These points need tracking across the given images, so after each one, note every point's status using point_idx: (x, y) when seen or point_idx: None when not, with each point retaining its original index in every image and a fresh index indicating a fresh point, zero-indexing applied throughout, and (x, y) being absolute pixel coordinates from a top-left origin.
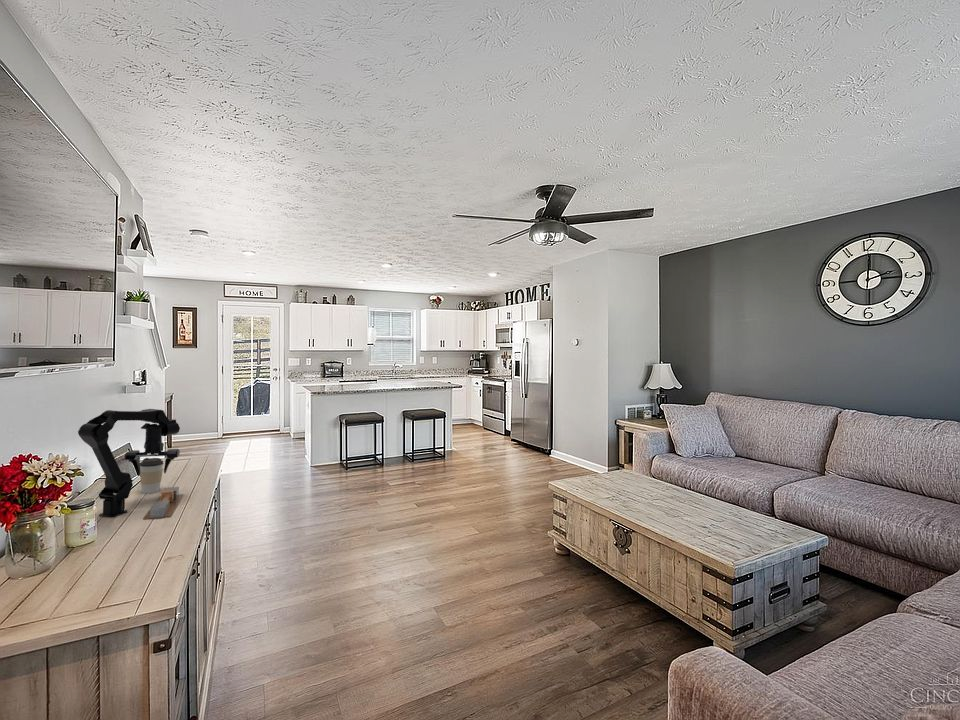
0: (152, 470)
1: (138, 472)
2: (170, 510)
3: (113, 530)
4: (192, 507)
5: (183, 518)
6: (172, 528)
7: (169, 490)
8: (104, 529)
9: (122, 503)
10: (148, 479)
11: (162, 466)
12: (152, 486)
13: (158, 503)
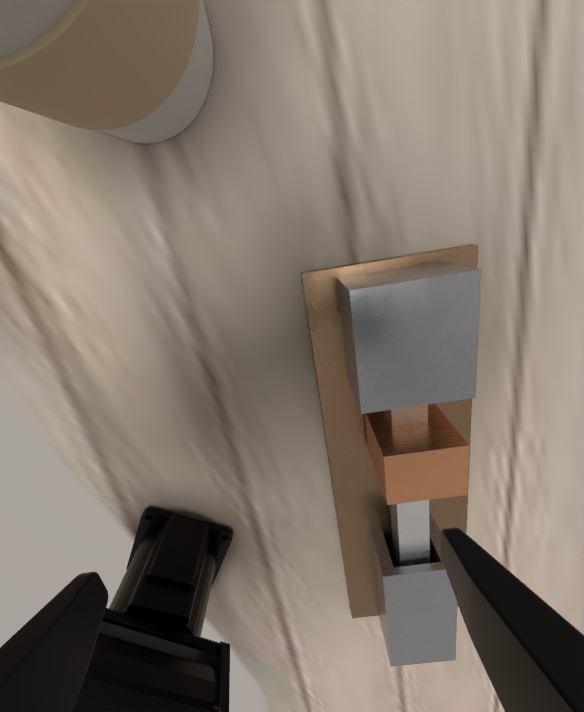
0: (14, 19)
1: (81, 658)
2: None
3: (286, 680)
4: (549, 496)
5: None
6: (487, 682)
7: (436, 456)
8: (249, 672)
9: (205, 599)
10: (78, 114)
11: None
12: (163, 115)
13: (407, 607)
